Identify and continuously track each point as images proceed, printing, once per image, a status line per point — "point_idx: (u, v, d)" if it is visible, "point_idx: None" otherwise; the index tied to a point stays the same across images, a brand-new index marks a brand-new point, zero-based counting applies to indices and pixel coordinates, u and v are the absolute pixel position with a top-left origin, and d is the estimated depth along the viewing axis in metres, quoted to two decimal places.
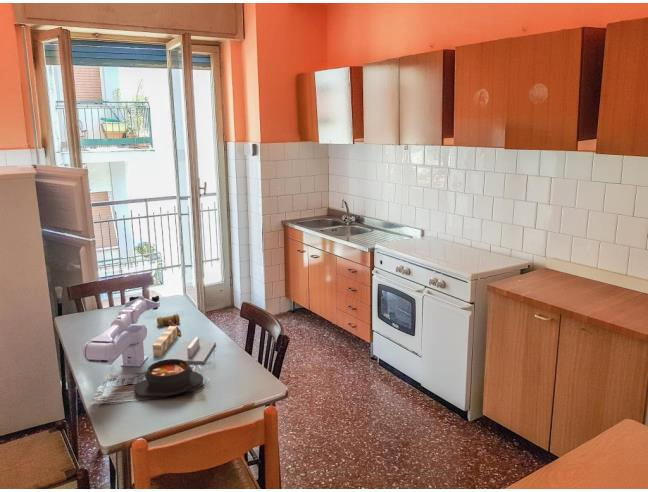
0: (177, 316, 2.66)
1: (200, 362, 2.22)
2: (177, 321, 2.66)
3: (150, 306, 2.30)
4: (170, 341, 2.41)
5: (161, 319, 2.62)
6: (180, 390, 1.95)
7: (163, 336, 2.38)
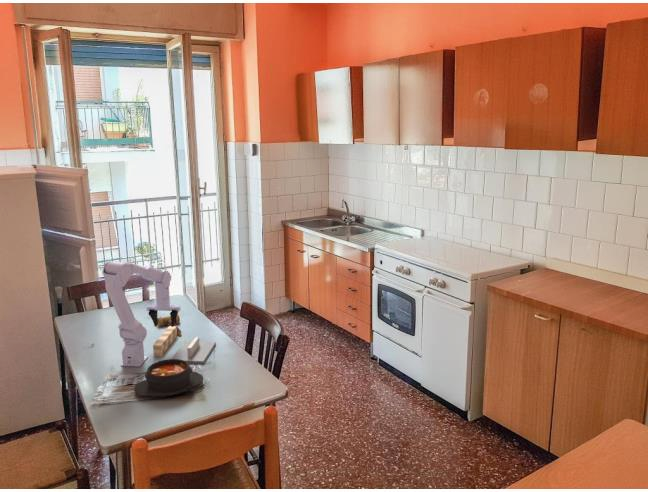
0: (177, 316, 2.66)
1: (200, 362, 2.22)
2: (177, 321, 2.66)
3: (171, 308, 2.35)
4: (170, 341, 2.41)
5: (161, 319, 2.62)
6: (180, 390, 1.95)
7: (163, 336, 2.38)
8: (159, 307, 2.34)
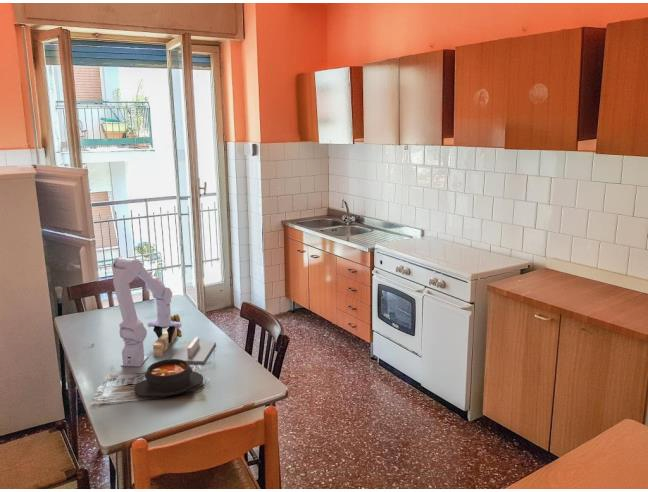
0: (177, 316, 2.66)
1: (200, 362, 2.22)
2: (177, 321, 2.65)
3: None
4: None
5: None
6: (180, 390, 1.95)
7: (163, 335, 2.38)
8: (160, 324, 2.35)
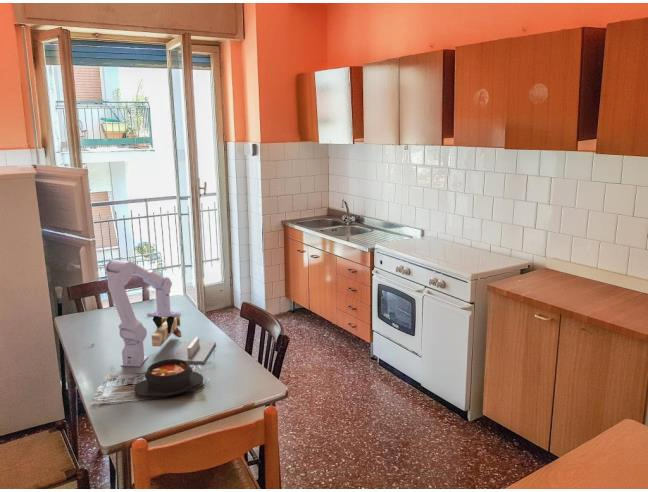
0: None
1: (200, 362, 2.22)
2: (177, 321, 2.65)
3: None
4: None
5: None
6: (180, 390, 1.95)
7: (163, 326, 2.37)
8: (159, 314, 2.34)
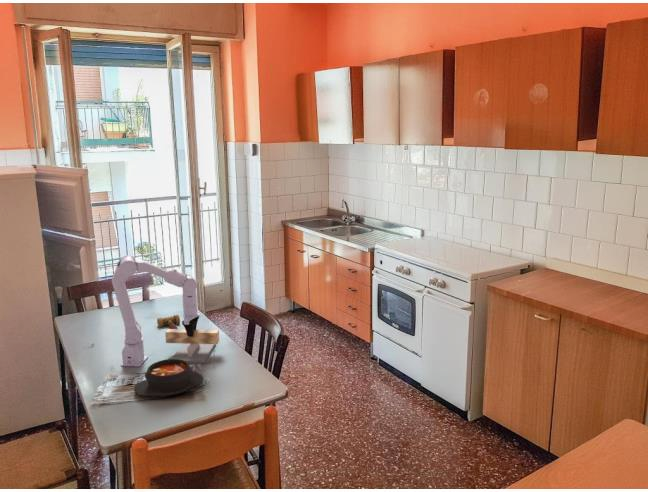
0: (177, 317, 2.65)
1: (200, 362, 2.22)
2: (177, 322, 2.65)
3: (186, 318, 2.25)
4: (194, 340, 2.29)
5: (161, 320, 2.61)
6: (180, 390, 1.95)
7: None
8: None
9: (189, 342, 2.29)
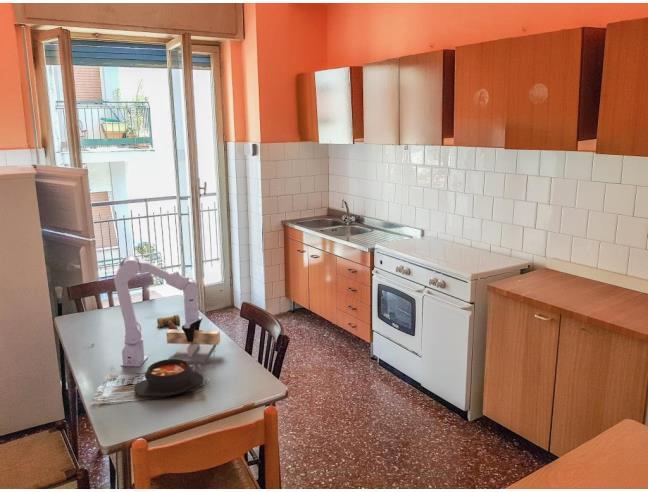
0: (177, 317, 2.65)
1: (200, 362, 2.22)
2: (177, 322, 2.65)
3: None
4: (195, 340, 2.28)
5: (161, 320, 2.61)
6: (180, 390, 1.95)
7: None
8: None
9: (190, 342, 2.29)
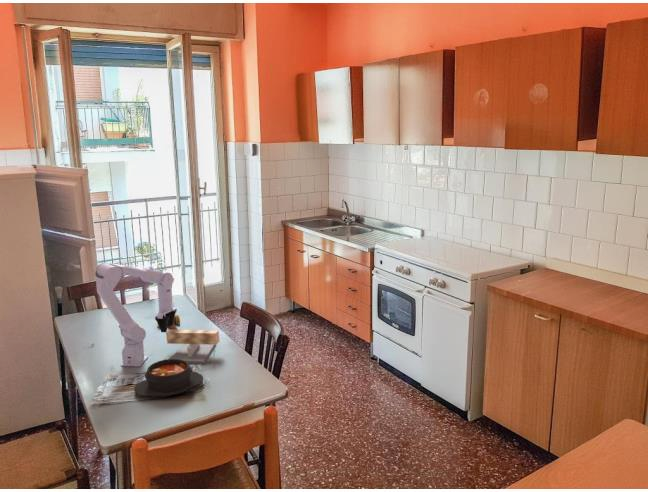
0: (177, 317, 2.65)
1: (200, 362, 2.22)
2: (177, 322, 2.64)
3: (160, 312, 2.28)
4: (194, 340, 2.28)
5: None
6: (180, 390, 1.95)
7: (190, 331, 2.30)
8: None
9: (189, 342, 2.29)
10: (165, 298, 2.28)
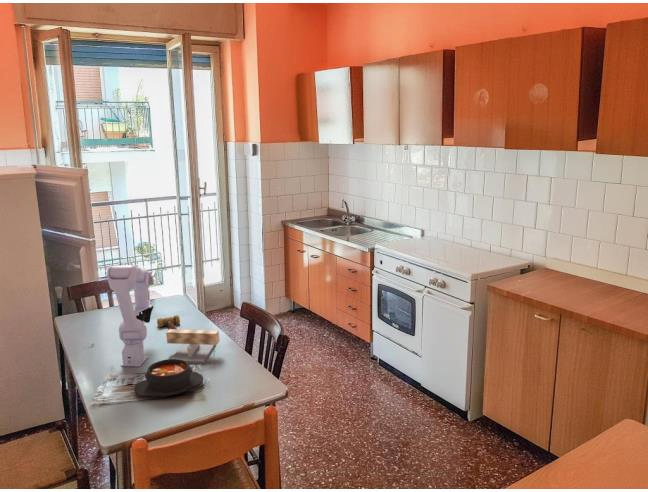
0: (177, 317, 2.64)
1: (200, 362, 2.22)
2: (177, 322, 2.64)
3: None
4: (194, 340, 2.28)
5: (161, 320, 2.61)
6: (180, 390, 1.95)
7: (190, 331, 2.30)
8: None
9: (189, 342, 2.29)
10: (146, 294, 2.33)
